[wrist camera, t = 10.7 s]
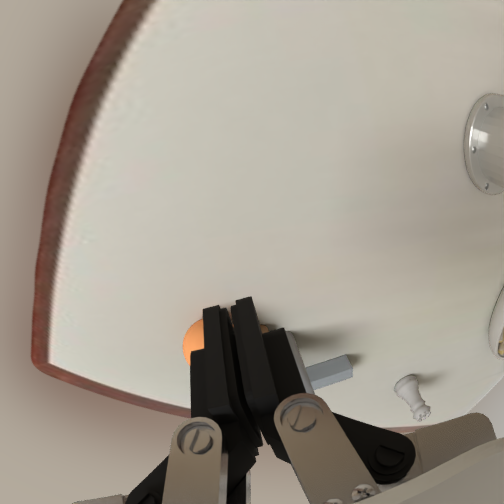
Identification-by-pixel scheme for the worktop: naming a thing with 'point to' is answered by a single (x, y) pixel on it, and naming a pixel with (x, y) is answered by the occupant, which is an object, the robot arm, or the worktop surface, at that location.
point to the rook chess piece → (412, 396)
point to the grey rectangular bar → (330, 372)
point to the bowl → (497, 328)
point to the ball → (193, 339)
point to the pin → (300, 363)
